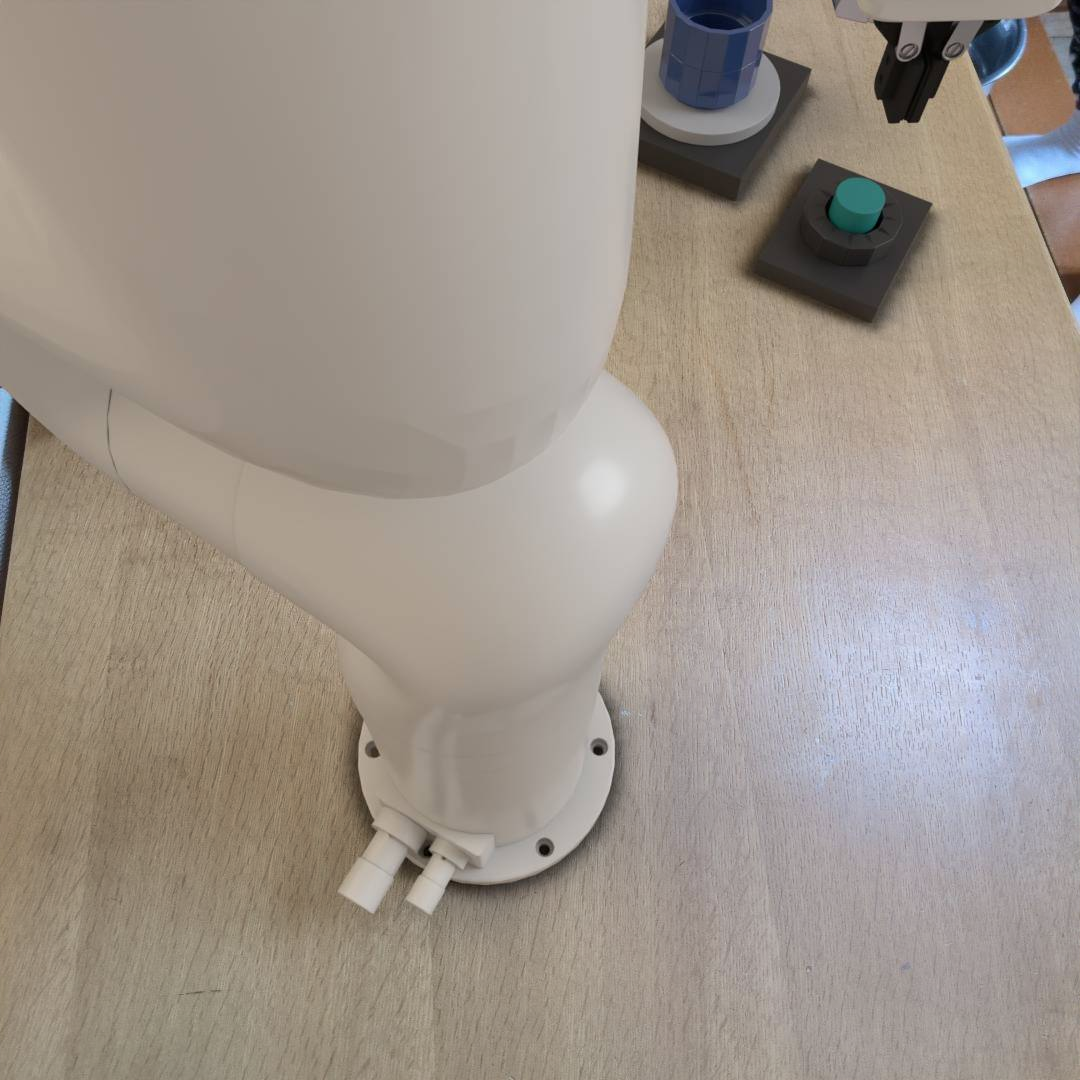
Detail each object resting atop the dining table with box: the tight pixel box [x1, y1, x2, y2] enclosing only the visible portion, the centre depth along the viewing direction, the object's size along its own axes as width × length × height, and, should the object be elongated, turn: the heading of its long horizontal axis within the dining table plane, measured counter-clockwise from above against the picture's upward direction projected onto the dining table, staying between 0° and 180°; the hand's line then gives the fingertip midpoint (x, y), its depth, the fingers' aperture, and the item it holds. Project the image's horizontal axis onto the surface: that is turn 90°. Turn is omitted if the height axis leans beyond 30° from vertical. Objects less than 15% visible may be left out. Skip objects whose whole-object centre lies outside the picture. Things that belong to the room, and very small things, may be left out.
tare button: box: [829, 178, 885, 234], centre depth 64 cm, size 3×3×2 cm
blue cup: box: [659, 0, 774, 110], centre depth 66 cm, size 6×6×6 cm
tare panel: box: [753, 157, 933, 324], centre depth 65 cm, size 10×8×3 cm
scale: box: [637, 20, 813, 202], centre depth 70 cm, size 12×11×3 cm
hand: (897, 105), depth 57 cm, fingers closed
